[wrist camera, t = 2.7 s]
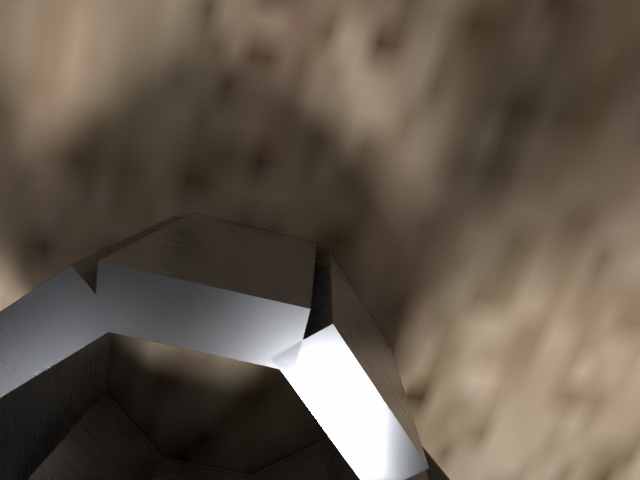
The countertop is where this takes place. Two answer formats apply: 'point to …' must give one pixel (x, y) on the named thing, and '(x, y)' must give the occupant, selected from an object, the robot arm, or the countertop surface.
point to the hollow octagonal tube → (203, 336)
